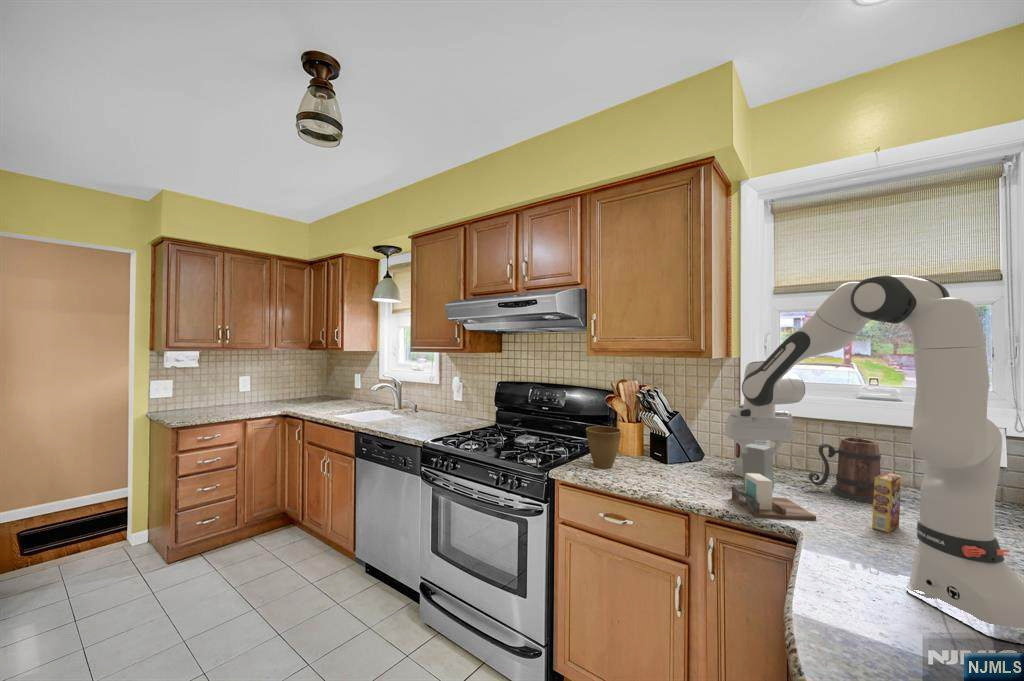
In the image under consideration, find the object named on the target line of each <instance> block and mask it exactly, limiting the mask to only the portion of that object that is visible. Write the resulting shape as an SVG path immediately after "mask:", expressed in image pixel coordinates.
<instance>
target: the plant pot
mask: <svg viewBox="0 0 1024 681" xmlns="http://www.w3.org/2000/svg"><path fill="white" fill-rule="evenodd" d="M585 432H586V439H587V444H588V448H589V453H590V457H591V459H592V462H593V465H594V467H596V468H598V469H602V470H603V469H604V470H605V469H606V470H607V469H608V470H609V469H611V468H613V465H614V463H615V460H616V457H617V455H618V451H619V446H620V443H621V435H622V429H620V428H618V427H614V426H605V425H603V426H602V425H601V426H600V425H599V426H598V425H597V426H595V425H594V426H588V427H586V428H585Z"/></svg>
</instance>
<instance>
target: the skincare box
mask: <svg viewBox="0 0 1024 681" xmlns="http://www.w3.org/2000/svg"><path fill="white" fill-rule="evenodd" d="M744 446H745V447H746V448H748V453H742V455H743V477H742V479H743V487H744V486H745V474H746V473H754V474H761V475H762V476H764V477H766V478H768V479H769V480H771V481H773V483H772V491H773V490H774V489H775V480H774V479H775V478H774V463H773V462H774V460H773V455H774V454H772V453H771V448H773V446H772V447H771V446H770V447H767V446H761V445H756V444H748V445H744Z"/></svg>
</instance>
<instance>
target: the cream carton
mask: <svg viewBox="0 0 1024 681" xmlns="http://www.w3.org/2000/svg"><path fill="white" fill-rule="evenodd" d="M772 483H773V481H771V480H769V479H768V478H766V477H764V476H762V475H761V474H754V473H746V474H745V488H744V493H746V494H747V495H749V496H750V497H751V498H753V499H754V500H755V501H757V502H758V503H760V509H764V510H772V497H773V490H772Z"/></svg>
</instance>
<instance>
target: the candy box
mask: <svg viewBox="0 0 1024 681" xmlns="http://www.w3.org/2000/svg"><path fill="white" fill-rule="evenodd" d="M901 486H902V476H901V475H898V474H893V473H888V472H884V473H882V474H881V475H878V476H875V480H874V499H873V504H872V517H871V518H872V519H871V520H872V522H871V528H872V529H874V530H879V531H880V532H885V533H888V534H889V533H890V532H892V531H893V530H895V529H897V528H899V527H900V515H901V514H900V512H901V491H902V490H901Z"/></svg>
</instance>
